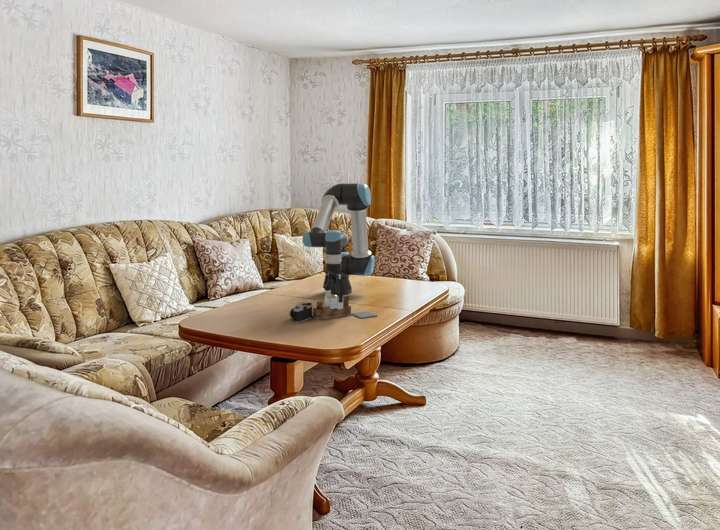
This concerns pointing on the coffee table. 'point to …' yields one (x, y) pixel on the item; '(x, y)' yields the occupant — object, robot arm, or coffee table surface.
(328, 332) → the coffee table surface
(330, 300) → the grey gold knob block
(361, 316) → the felt mat
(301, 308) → the camera
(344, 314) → the plane body
